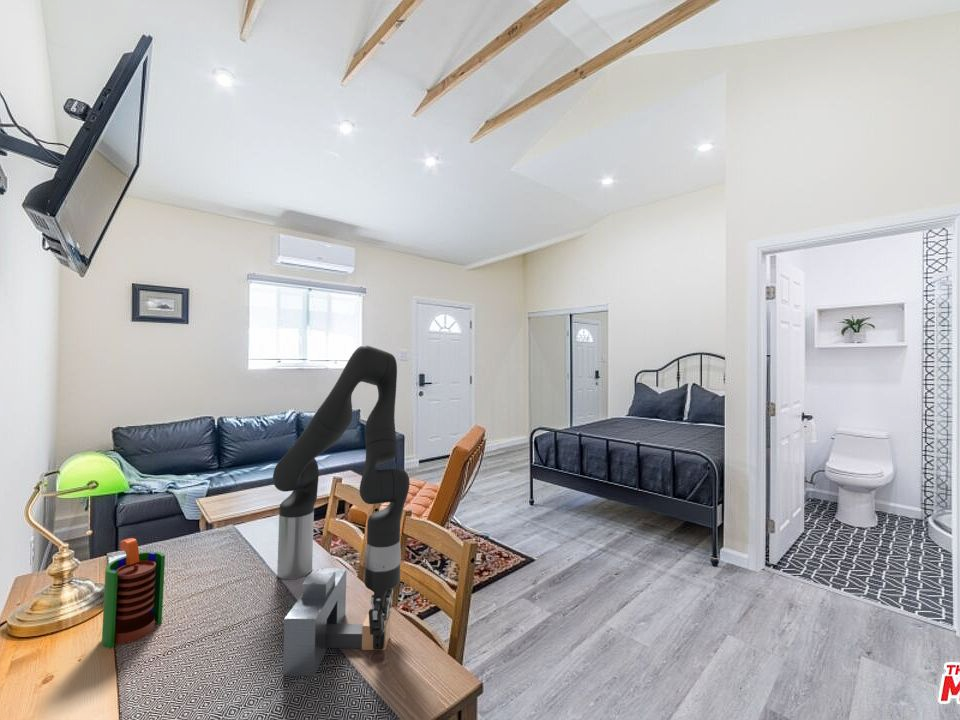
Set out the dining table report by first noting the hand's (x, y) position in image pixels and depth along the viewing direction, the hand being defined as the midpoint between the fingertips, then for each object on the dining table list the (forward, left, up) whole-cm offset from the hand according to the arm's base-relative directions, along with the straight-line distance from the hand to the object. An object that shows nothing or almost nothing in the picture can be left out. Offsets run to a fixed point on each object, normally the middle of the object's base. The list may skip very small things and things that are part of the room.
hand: (381, 640), depth 90 cm
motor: (-35, -44, -1) cm, 56 cm away
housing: (-8, -11, -1) cm, 14 cm away
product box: (-61, -47, -1) cm, 77 cm away
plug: (-4, -6, -1) cm, 7 cm away
